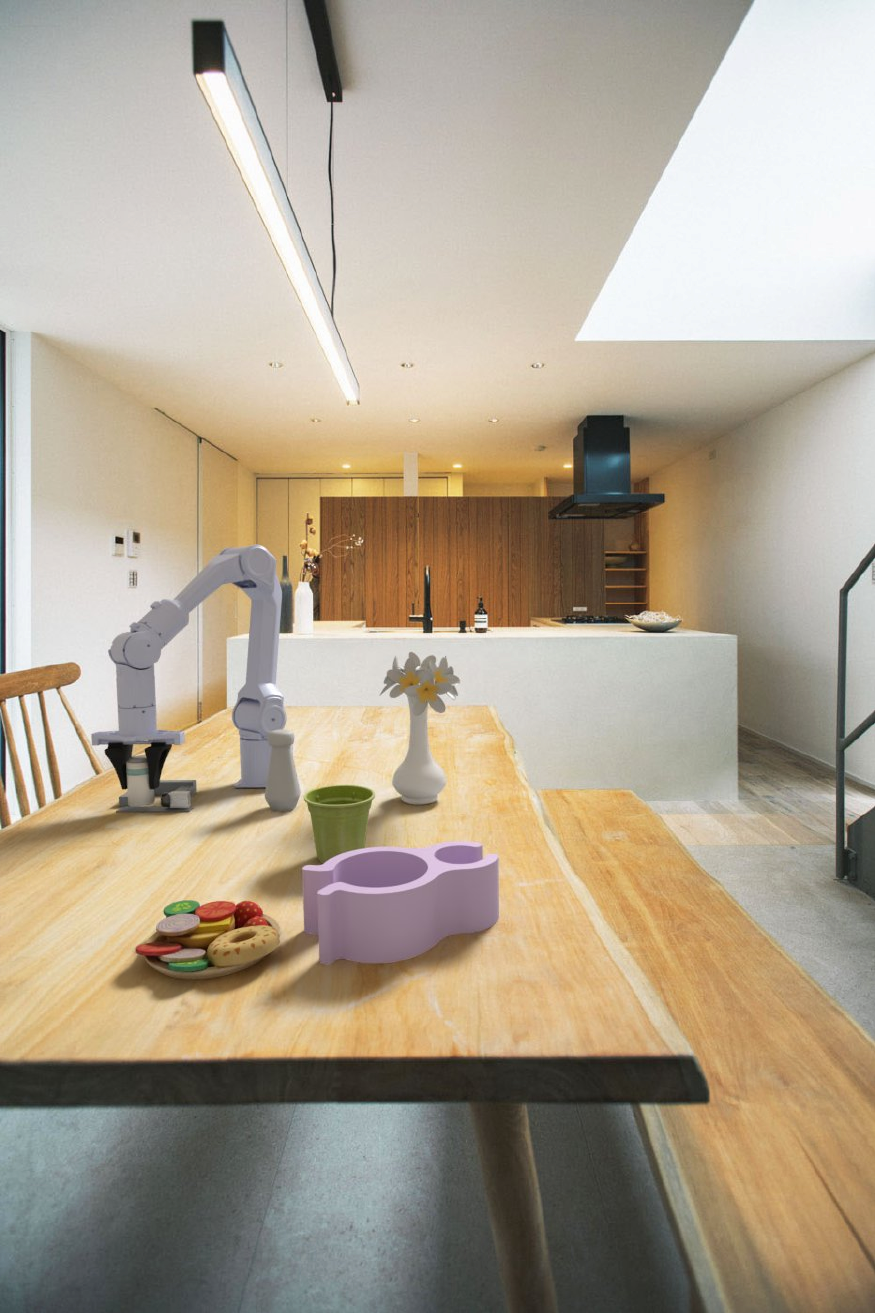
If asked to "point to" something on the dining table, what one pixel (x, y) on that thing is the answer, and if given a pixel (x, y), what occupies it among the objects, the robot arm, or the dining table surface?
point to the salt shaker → (282, 773)
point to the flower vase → (420, 724)
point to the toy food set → (210, 939)
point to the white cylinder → (138, 782)
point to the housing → (163, 787)
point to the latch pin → (176, 799)
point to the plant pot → (339, 818)
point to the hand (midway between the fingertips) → (140, 787)
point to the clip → (399, 900)
